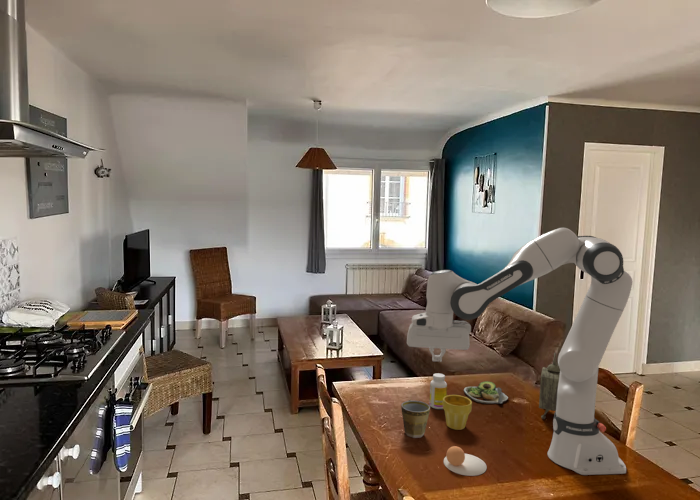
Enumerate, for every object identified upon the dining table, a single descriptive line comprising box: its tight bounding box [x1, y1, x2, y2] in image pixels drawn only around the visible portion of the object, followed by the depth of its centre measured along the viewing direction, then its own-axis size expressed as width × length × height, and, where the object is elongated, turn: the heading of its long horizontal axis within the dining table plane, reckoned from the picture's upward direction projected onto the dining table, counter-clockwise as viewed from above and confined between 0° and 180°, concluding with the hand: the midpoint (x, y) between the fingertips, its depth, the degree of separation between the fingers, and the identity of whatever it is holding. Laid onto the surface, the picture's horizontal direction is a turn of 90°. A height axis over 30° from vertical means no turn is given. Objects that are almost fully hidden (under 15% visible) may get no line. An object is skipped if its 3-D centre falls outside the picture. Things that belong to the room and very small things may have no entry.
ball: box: [445, 445, 466, 466], centre depth 148 cm, size 6×6×6 cm
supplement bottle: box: [428, 372, 448, 410], centre depth 192 cm, size 7×7×13 cm
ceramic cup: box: [400, 399, 431, 439], centre depth 169 cm, size 13×10×10 cm
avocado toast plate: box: [463, 380, 509, 405], centre depth 204 cm, size 19×18×5 cm
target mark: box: [443, 452, 488, 477], centre depth 148 cm, size 13×13×1 cm
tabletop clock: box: [538, 352, 560, 420], centre depth 186 cm, size 14×9×25 cm, turn 155°
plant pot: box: [442, 394, 473, 431], centre depth 175 cm, size 10×10×10 cm
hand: (436, 361), depth 157 cm, fingers closed
